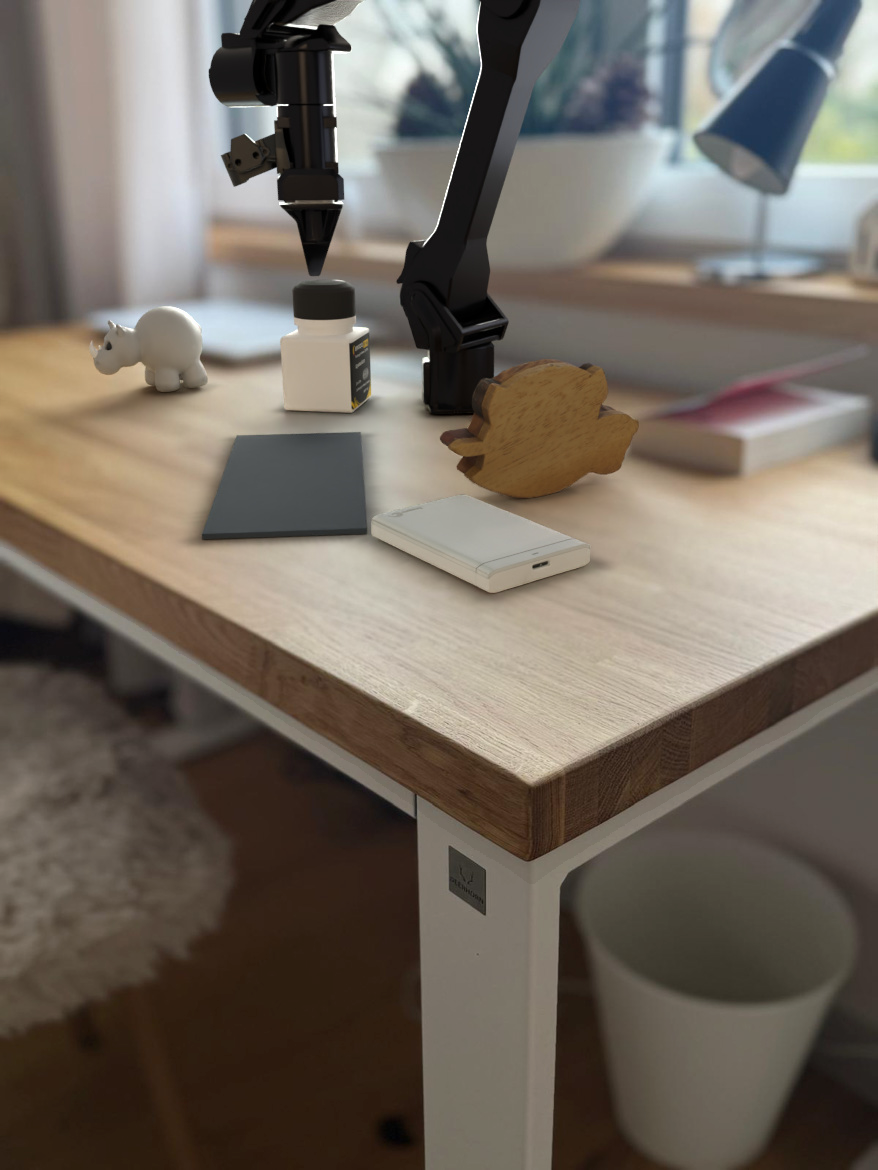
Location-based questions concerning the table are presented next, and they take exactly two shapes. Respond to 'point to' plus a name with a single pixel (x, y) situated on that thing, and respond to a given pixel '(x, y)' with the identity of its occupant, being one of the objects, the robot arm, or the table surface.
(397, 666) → the table surface
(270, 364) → the table surface
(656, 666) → the table surface
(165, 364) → the chubby cartoon animal
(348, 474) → the slate mat
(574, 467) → the wooden carving
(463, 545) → the hard drive
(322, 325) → the medicine bottle
